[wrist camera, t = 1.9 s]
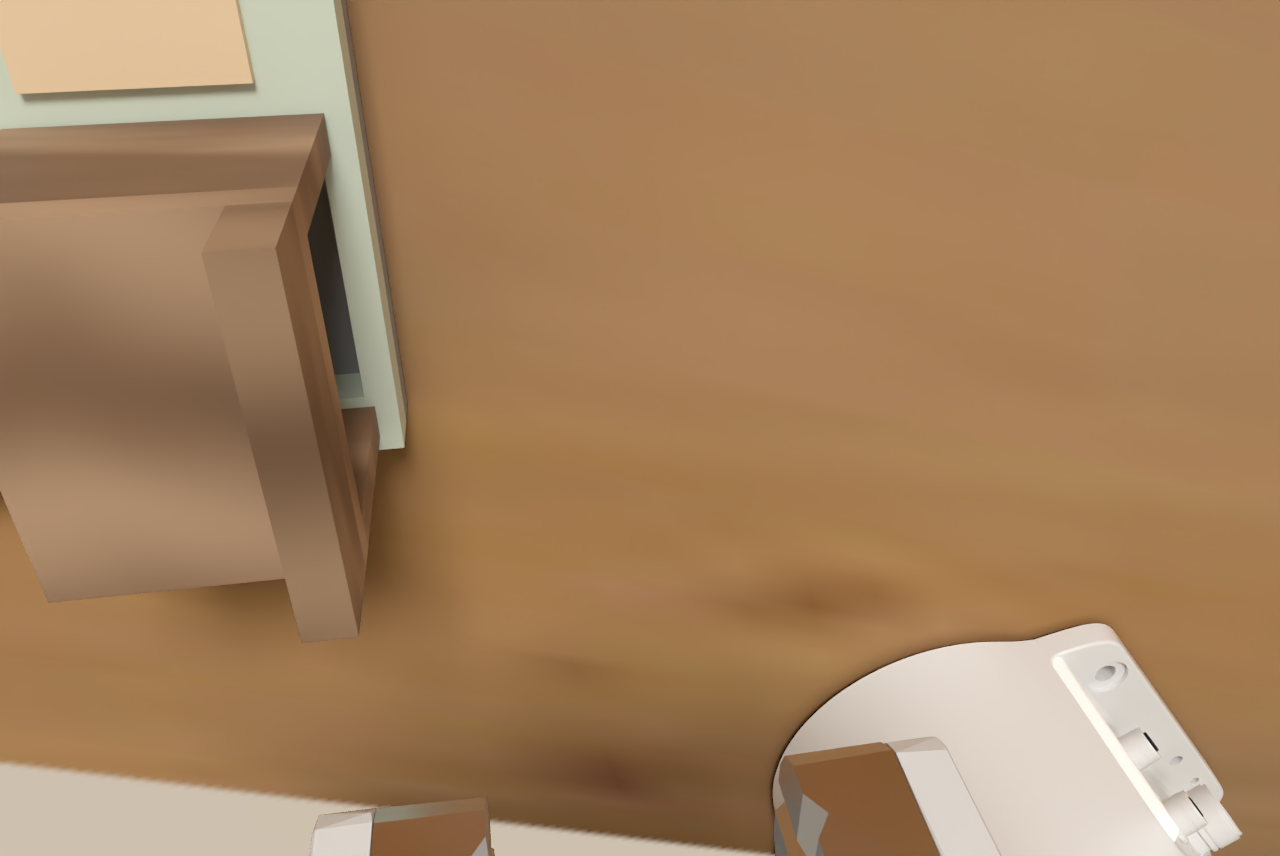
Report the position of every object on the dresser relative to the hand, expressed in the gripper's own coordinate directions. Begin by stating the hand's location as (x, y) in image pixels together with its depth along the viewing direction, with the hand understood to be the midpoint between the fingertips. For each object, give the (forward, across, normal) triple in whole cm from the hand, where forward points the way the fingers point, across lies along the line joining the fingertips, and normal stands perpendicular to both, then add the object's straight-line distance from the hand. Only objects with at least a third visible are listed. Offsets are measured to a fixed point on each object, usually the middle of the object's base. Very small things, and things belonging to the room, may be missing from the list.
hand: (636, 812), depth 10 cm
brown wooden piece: (+19, +8, +3) cm, 20 cm away
